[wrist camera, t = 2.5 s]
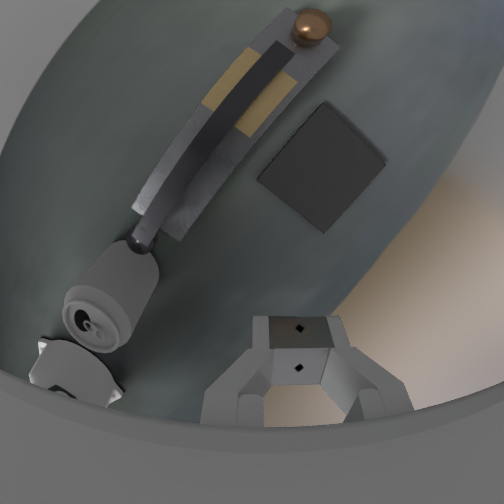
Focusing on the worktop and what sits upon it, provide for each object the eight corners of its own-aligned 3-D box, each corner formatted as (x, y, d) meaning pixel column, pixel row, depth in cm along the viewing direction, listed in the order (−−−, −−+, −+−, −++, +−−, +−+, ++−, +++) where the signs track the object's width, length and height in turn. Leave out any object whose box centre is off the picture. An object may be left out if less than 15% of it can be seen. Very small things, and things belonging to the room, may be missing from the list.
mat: (322, 231, 30) (323, 233, 30) (256, 178, 28) (256, 180, 27) (383, 163, 27) (386, 164, 26) (321, 103, 24) (322, 103, 24)
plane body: (186, 230, 30) (168, 263, 24) (141, 199, 29) (112, 223, 22) (335, 51, 22) (359, 32, 15) (286, 15, 20) (296, -15, 13)
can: (113, 226, 30) (56, 281, 19) (169, 254, 32) (132, 322, 21) (101, 275, 33) (55, 336, 22) (151, 300, 35) (119, 370, 24)
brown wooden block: (250, 135, 23) (249, 137, 19) (209, 105, 22) (200, 102, 18) (291, 87, 21) (297, 82, 17) (249, 57, 20) (248, 46, 16)
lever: (149, 253, 23) (145, 260, 22) (127, 237, 23) (121, 243, 22) (297, 60, 16) (300, 57, 15) (270, 41, 16) (271, 36, 15)
